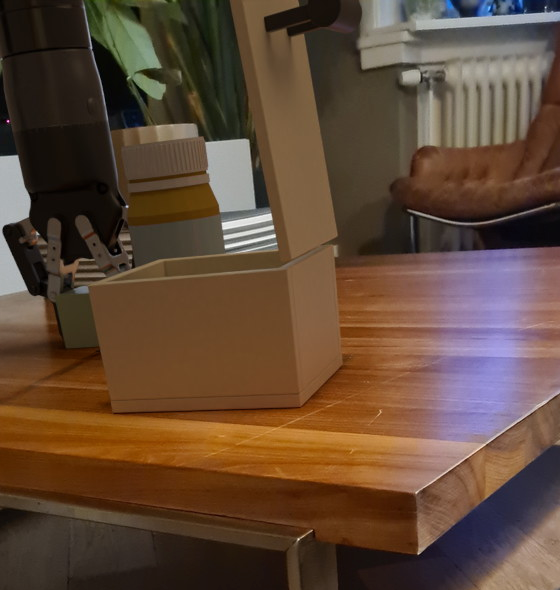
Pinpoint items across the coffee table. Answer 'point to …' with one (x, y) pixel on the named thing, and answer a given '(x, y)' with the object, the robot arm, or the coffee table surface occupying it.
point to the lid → (290, 112)
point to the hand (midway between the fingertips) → (103, 341)
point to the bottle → (171, 201)
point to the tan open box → (219, 331)
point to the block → (77, 318)
